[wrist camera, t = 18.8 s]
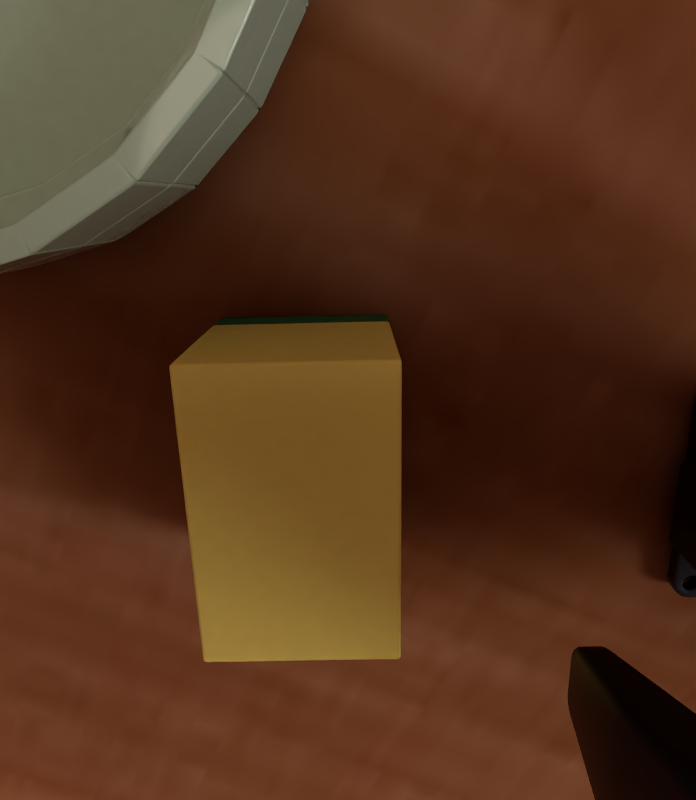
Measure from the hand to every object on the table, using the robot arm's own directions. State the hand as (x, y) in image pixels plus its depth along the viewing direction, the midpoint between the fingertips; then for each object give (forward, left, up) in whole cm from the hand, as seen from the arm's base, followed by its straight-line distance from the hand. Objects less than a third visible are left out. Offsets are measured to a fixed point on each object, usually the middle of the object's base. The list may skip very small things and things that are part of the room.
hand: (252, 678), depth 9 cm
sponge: (0, 0, -10) cm, 10 cm away
